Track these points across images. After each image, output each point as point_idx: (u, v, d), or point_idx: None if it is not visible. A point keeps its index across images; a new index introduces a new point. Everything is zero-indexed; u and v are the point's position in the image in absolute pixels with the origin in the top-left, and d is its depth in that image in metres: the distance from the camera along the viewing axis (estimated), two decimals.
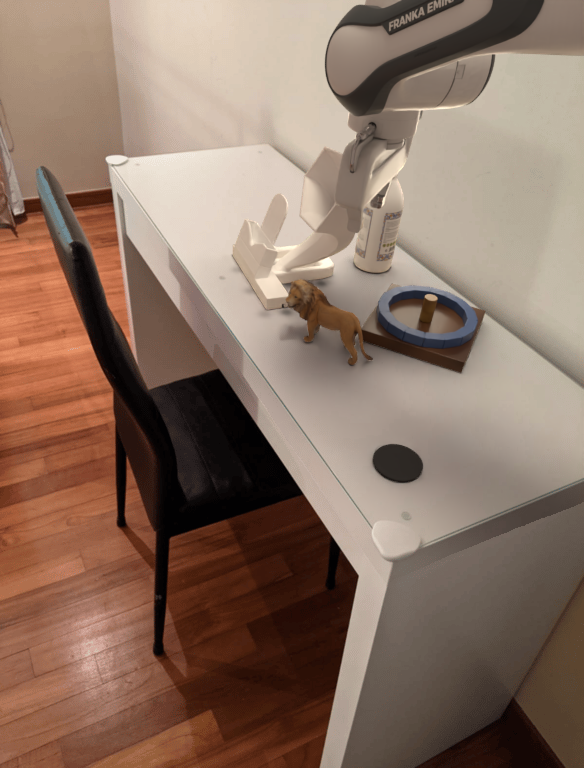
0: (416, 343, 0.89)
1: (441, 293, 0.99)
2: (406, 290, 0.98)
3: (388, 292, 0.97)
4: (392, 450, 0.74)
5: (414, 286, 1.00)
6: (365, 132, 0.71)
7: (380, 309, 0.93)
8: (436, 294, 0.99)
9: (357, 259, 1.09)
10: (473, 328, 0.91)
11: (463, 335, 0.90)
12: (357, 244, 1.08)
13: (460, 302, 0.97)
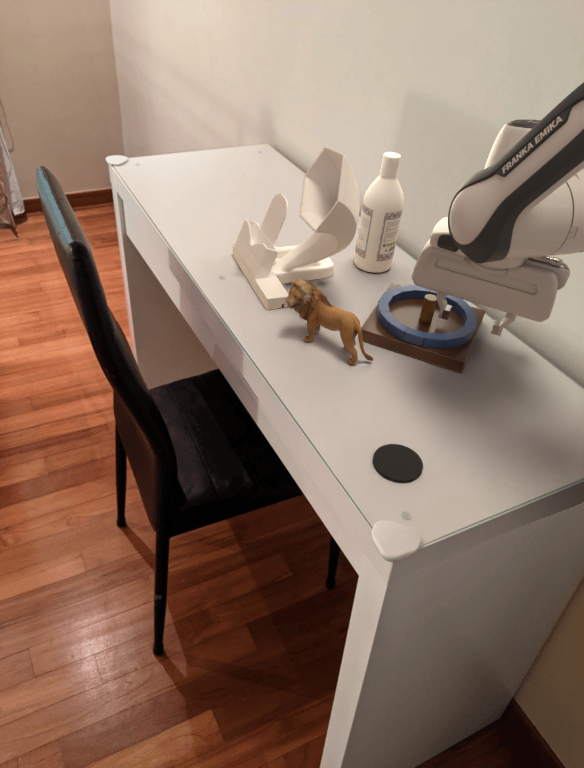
0: (416, 343, 0.89)
1: None
2: (406, 290, 0.98)
3: (388, 292, 0.97)
4: (392, 450, 0.74)
5: (414, 286, 1.00)
6: (555, 257, 0.82)
7: (380, 309, 0.93)
8: (436, 294, 0.99)
9: (357, 259, 1.09)
10: (473, 328, 0.91)
11: (463, 335, 0.90)
12: (357, 244, 1.08)
13: (460, 302, 0.97)
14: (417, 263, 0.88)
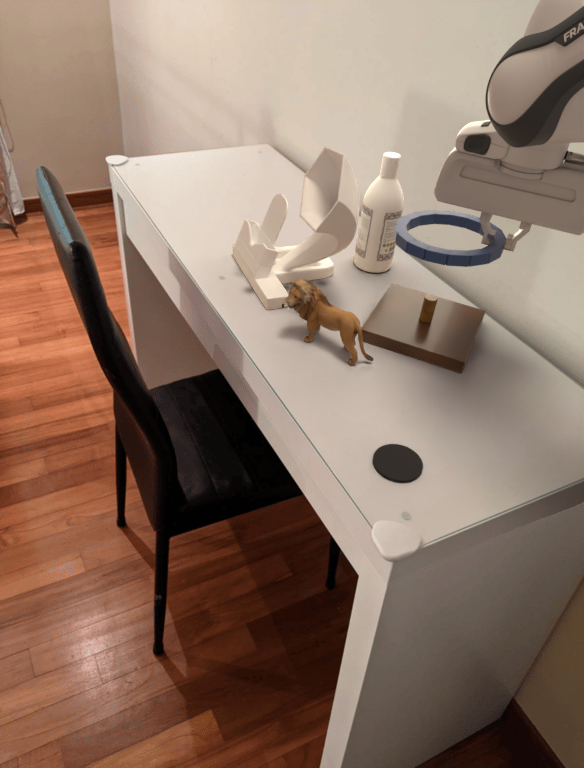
0: (439, 262, 0.81)
1: (464, 216, 0.90)
2: (425, 214, 0.90)
3: (405, 216, 0.89)
4: (392, 450, 0.74)
5: (433, 210, 0.91)
6: None
7: (397, 231, 0.85)
8: (458, 217, 0.90)
9: (357, 259, 1.09)
10: (502, 245, 0.83)
11: (491, 251, 0.81)
12: (357, 244, 1.08)
13: None
14: (440, 173, 0.80)
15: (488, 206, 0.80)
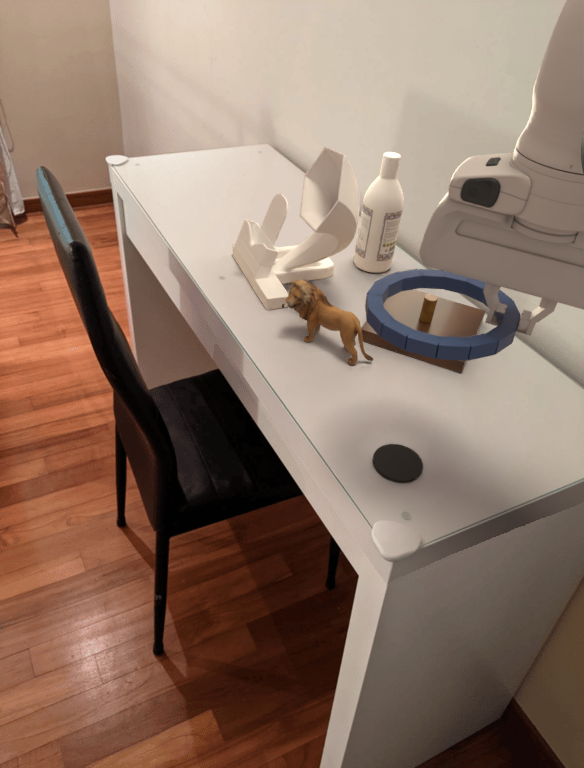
0: (426, 354, 0.57)
1: (461, 278, 0.66)
2: (409, 277, 0.66)
3: (382, 280, 0.66)
4: (392, 450, 0.74)
5: (421, 270, 0.68)
6: None
7: (369, 305, 0.61)
8: (454, 280, 0.67)
9: (357, 259, 1.09)
10: (514, 327, 0.59)
11: (499, 338, 0.57)
12: (357, 244, 1.08)
13: None
14: (428, 229, 0.56)
15: (496, 276, 0.56)
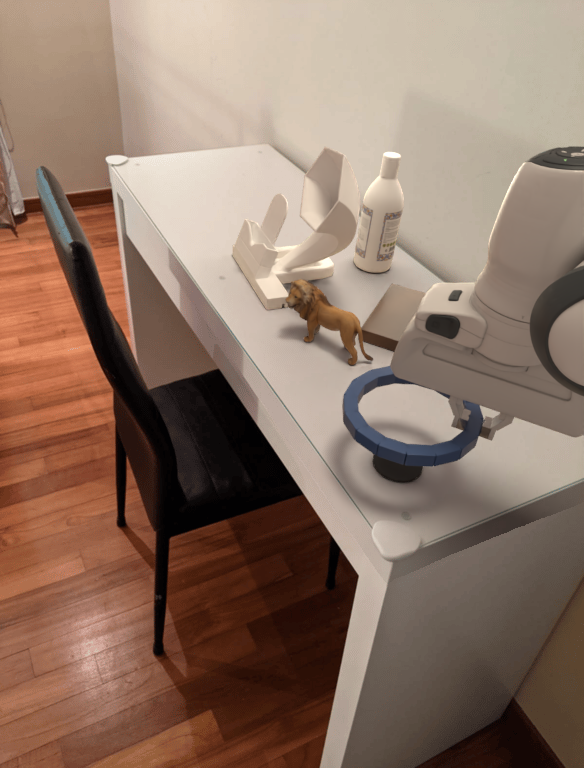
0: (396, 460, 0.63)
1: None
2: (383, 375, 0.72)
3: (358, 379, 0.71)
4: None
5: None
6: None
7: (345, 408, 0.67)
8: None
9: (357, 259, 1.09)
10: (477, 432, 0.64)
11: (462, 446, 0.63)
12: (357, 244, 1.08)
13: None
14: (397, 349, 0.62)
15: (459, 391, 0.62)
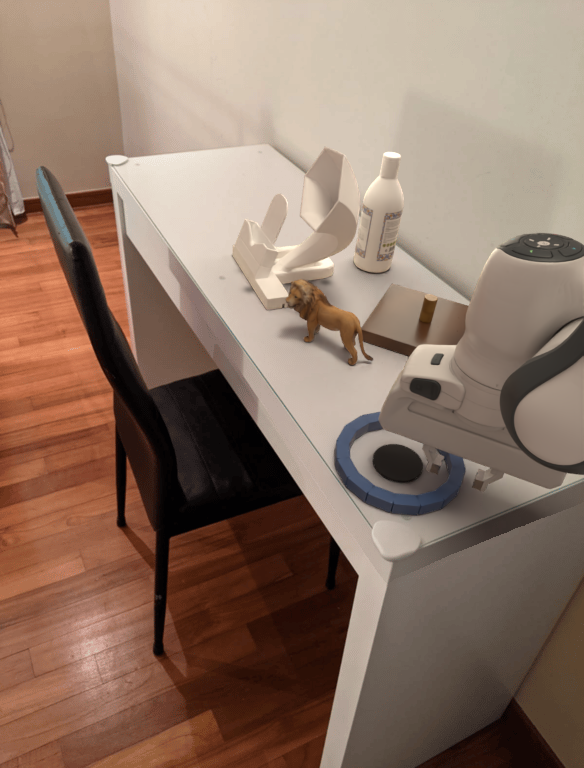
0: (383, 508, 0.67)
1: None
2: (374, 421, 0.76)
3: (350, 424, 0.76)
4: (392, 450, 0.74)
5: None
6: None
7: (338, 454, 0.71)
8: None
9: (357, 259, 1.09)
10: (459, 483, 0.69)
11: (445, 496, 0.68)
12: (357, 244, 1.08)
13: None
14: (385, 405, 0.66)
15: (442, 444, 0.66)
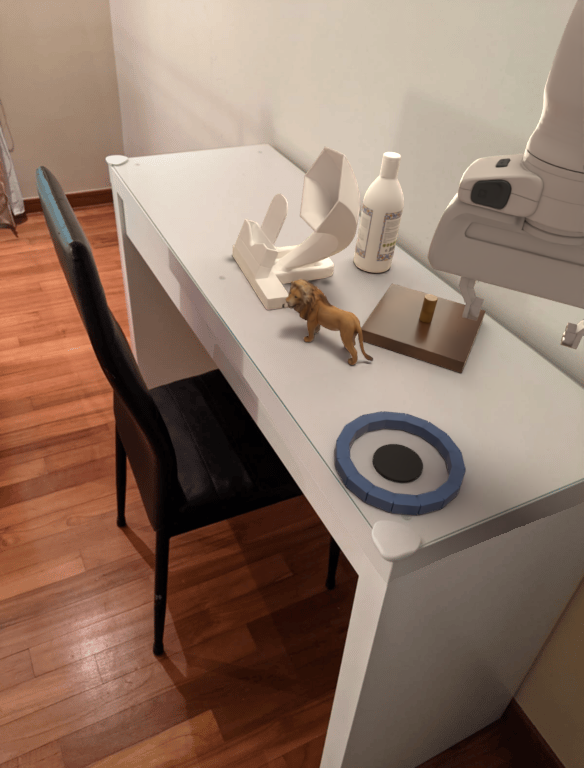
0: (383, 508, 0.67)
1: (419, 424, 0.77)
2: (374, 421, 0.76)
3: (350, 424, 0.76)
4: (392, 450, 0.74)
5: (385, 413, 0.78)
6: None
7: (338, 454, 0.71)
8: (413, 425, 0.77)
9: (357, 259, 1.09)
10: (459, 483, 0.69)
11: (445, 496, 0.68)
12: (357, 244, 1.08)
13: (443, 438, 0.75)
14: (436, 232, 0.55)
15: (506, 279, 0.55)
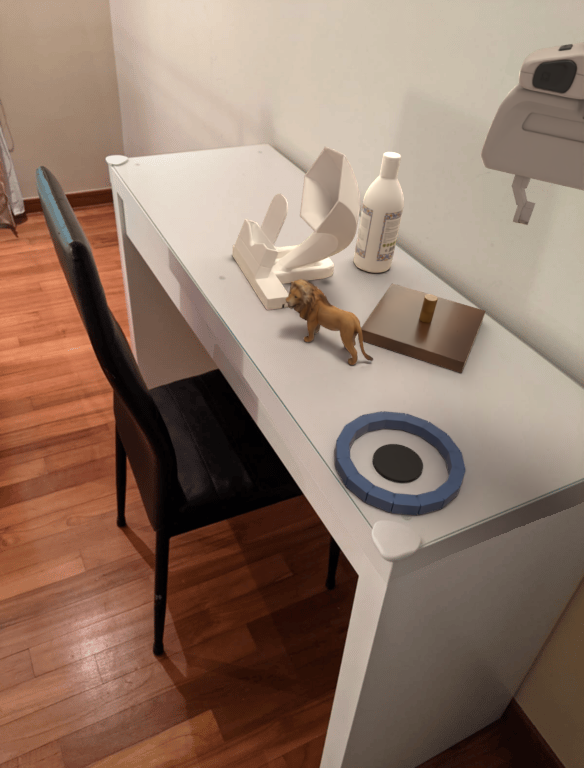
0: (383, 508, 0.67)
1: (419, 424, 0.77)
2: (374, 421, 0.76)
3: (350, 424, 0.76)
4: (392, 450, 0.74)
5: (385, 413, 0.78)
6: None
7: (338, 454, 0.71)
8: (413, 425, 0.77)
9: (357, 259, 1.09)
10: (459, 483, 0.69)
11: (445, 496, 0.68)
12: (357, 244, 1.08)
13: (443, 438, 0.75)
14: (492, 126, 0.54)
15: (563, 174, 0.54)
